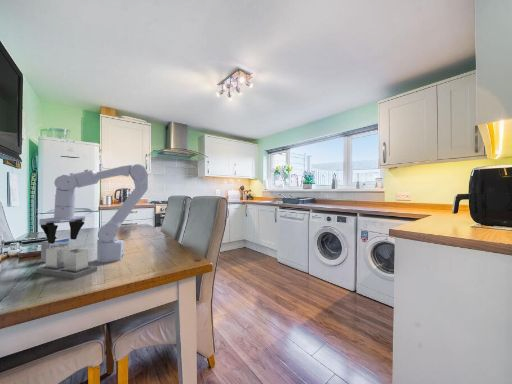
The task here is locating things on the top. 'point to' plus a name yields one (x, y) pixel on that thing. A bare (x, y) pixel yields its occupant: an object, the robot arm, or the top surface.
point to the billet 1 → (55, 257)
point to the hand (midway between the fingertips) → (62, 241)
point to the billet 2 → (75, 260)
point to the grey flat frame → (66, 274)
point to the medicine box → (52, 246)
